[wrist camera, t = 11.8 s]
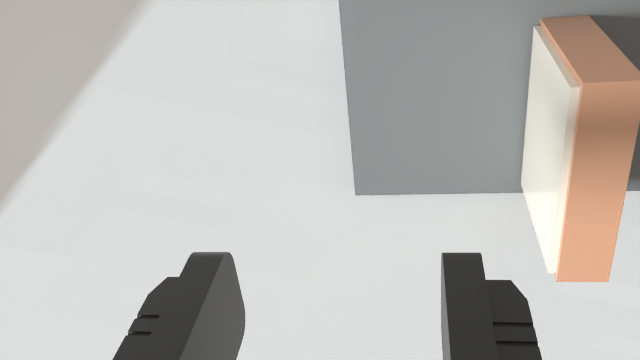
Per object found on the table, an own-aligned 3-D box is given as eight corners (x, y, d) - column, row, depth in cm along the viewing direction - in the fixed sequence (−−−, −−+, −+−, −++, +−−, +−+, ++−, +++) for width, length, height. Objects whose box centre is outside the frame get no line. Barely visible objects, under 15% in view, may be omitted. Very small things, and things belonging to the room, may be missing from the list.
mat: (862, -162, 17) (876, -162, 17) (750, 180, 23) (758, 188, 23) (331, -108, 20) (329, -106, 19) (356, 188, 26) (355, 195, 26)
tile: (647, 79, 15) (608, 281, 19) (588, 15, 20) (566, 184, 24) (573, 83, 16) (548, 281, 19) (533, 18, 21) (519, 185, 24)
